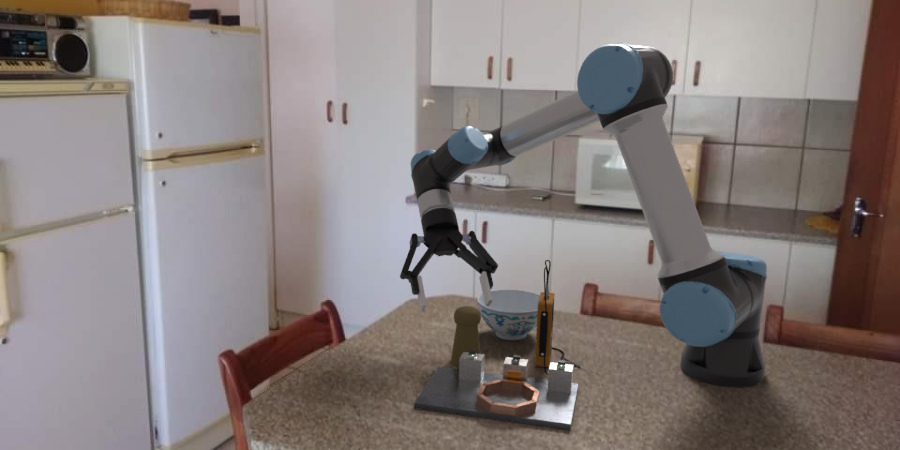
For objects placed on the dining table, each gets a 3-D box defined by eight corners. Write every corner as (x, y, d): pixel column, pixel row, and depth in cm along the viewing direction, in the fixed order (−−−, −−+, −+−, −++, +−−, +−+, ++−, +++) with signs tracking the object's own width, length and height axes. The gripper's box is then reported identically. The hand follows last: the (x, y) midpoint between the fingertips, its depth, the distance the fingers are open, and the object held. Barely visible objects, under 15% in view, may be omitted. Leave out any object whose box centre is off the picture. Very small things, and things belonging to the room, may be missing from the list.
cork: (486, 359, 142) (488, 305, 139) (474, 370, 136) (476, 315, 134) (458, 353, 144) (459, 301, 142) (445, 364, 139) (446, 310, 136)
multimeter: (587, 381, 133) (593, 276, 128) (532, 375, 134) (537, 272, 130) (588, 351, 147) (594, 256, 142) (539, 346, 149) (543, 252, 144)
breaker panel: (578, 388, 129) (579, 358, 128) (570, 429, 115) (572, 396, 113) (438, 371, 135) (438, 342, 134) (414, 408, 121) (414, 376, 119)
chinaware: (479, 320, 163) (480, 287, 161) (546, 324, 161) (548, 291, 159) (472, 345, 148) (473, 309, 147) (546, 350, 147) (547, 314, 145)
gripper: (488, 222, 160) (510, 309, 149) (377, 227, 153) (392, 318, 142) (497, 203, 153) (521, 292, 143) (382, 208, 146) (398, 301, 136)
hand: (456, 305), depth 142 cm, fingers open, 13 cm apart
